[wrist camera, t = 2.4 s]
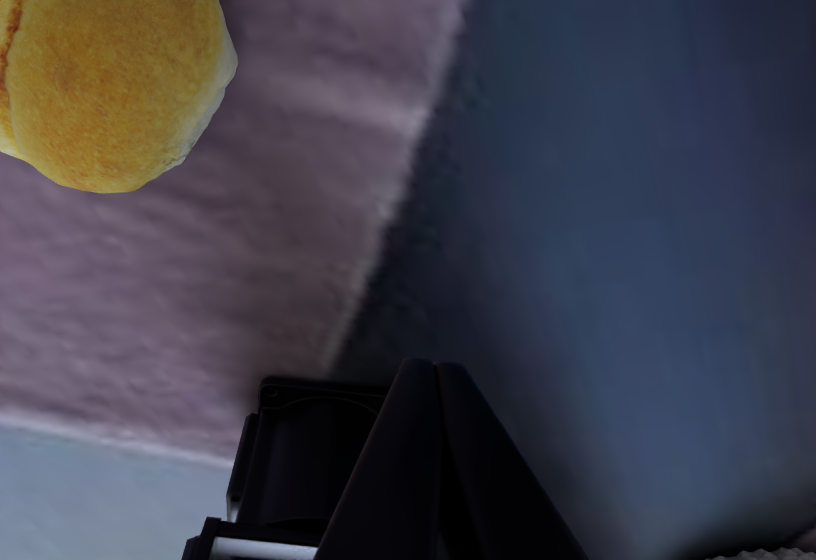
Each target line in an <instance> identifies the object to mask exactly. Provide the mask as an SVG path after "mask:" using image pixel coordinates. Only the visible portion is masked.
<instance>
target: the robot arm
mask: <svg viewBox="0 0 816 560" xmlns="http://www.w3.org/2000/svg"><path fill="white" fill-rule="evenodd" d="M270 388H272V389H270ZM226 499H227V521H221V518H215V517H207V518H206V521H205V524H204V527H203V530H202V533H201V534H200V535H199V536H196V537H194V538H191V539H188V540H187V542H186V546H185V549H184V553H183V556H182V559H181V560H590V559H589V558H588V556H587V555H586V553H585V552H584V550H583V548H582V547H581V545H580V544H579V542H578V541H577V539H576V538H575V536H574V534H573V533H572V531H571V530H570V528H569V527H568V525H567V524H566V522H565V520H564V519H563V517H562V516H561V514H560V513H559V511H558V510H557V508H556V507H555V505H554V503H553V502H552V500H551V499H550V497H549V496H548V494H547V493H546V491H545V489H544V488H543V486H542V485H541V483H540V482H539V480H538V479H537V477H536V475H535V474H534V472H533V471H532V469H531V468H530V466H529V465H528V463H527V461H526V460H525V458H524V457H523V455H522V454H521V452H520V451H519V449H518V448H517V446H516V444H515V443H514V441H513V440H512V438H511V437H510V435H509V434H508V432H507V430H506V429H505V427H504V426H503V424H502V423H501V421H500V420H499V418H498V416H497V415H496V413H495V412H494V410H493V409H492V407H491V406H490V404H489V402H488V401H487V399H486V398H485V396H484V395H483V393H482V392H481V390H480V389H479V387H478V385H477V384H476V382H475V381H474V379H473V378H472V376H471V375H470V373H469V371H468V370H467V368H466V367H465V366H464V365H463V364H461V363H455V362H446V361H436V362H435V363H434V364H433V362H432V361H431V360H429V359H420V358H411V357H407V358H405V359H404V360H403V362H402V364H401V366H400V368H399V370H398V373H397V375H396V377H395V379H394V381H393V384H392V386H391V388H390V390H385V389H375V388H366V387H357V386H347V385H338V384H329V383H320V382H310V381H301V380H292V379H282V378H273V377H268V378H265V379H263V380H262V381H261V383H260V387H259V391H258V414H257V413H251V414H250V415H248V416H247V417H246V419H245V423H244V427H243V431H242V435H241V439H240V443H239V447H238V451H237V454H236V458H235V462H234V466H233V470H232V474H231V478H230V482H229V486H228V490H227V494H226Z"/></svg>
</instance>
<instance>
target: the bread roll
mask: <svg viewBox="0 0 816 560" xmlns="http://www.w3.org/2000/svg"><path fill="white" fill-rule="evenodd" d="M237 66H238V56H237V54H236V51H235V48H234V46H233V43H232V40H231V38H230V35H229V32H228V30H227V27H226V23H225V18H224V14H223V10H222V8H221V5H220V3H219V0H0V152H3V153H6V154H8V155H11V156H13V157H16V158H19V159H21V160H24V161H26V162H28V163H29V164H31V165H33V166H34V167H35V168H36V169H37V170H38V171H39V172H40V173H42V174H43V175H44V176H46V177H47V178H49V179H51V180H53V181H54V182H56V183H57V184H59V185H61V186H66V187H70V188H75V189H80V190H83V191H91V192H96V193H121V192H130V191H135V190H137V189H139V188H141V187H143V185H144V184H145V183H147V182H149V181H151V180H153V179H155V178H157V177H158V176H159V175H161V174H162V173H164V172H166V171H168V170H170V169H171V168H173V167H174V166H177V165H180V164H182V162H183V161H184V160H185V158H186V156H187V155H188V154H189V152H190V150H192V149H191V148H192V147H193V146H194V145H195V143H196V142H197V140H198V139H199V137H200V136H201V135H202V133H203V132H204V130H205V129H206V128H207V126H208V124H209V122H210V121H211V118H212V117H213V115H214V113H215V112H216V111H217V109H218V108H219V107H220V103H221V102H222V100H223V98H224V95H225V88H226V86H227V85H228V84H229V82H230V81H231V80H232V79H233V77H234V76H235V72H236V68H237Z"/></svg>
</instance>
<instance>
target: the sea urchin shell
mask: <svg viewBox="0 0 816 560" xmlns="http://www.w3.org/2000/svg"><path fill="white" fill-rule="evenodd" d="M705 560H816V554H815V553H813V552H809V553H804V552H802V551H801V550H799V549H798V548H793V549H786V548H783V547H781V548H779V549H778V550H776V551H773V552H767V551H765V550H763V549H761V548H760V549H759V550H756V551H754V552H747V551H741V552H740V553H739V554H738V555H737V556H735V557H723V556H718V557H715V558H713V559H707V558H706V559H705Z"/></svg>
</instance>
